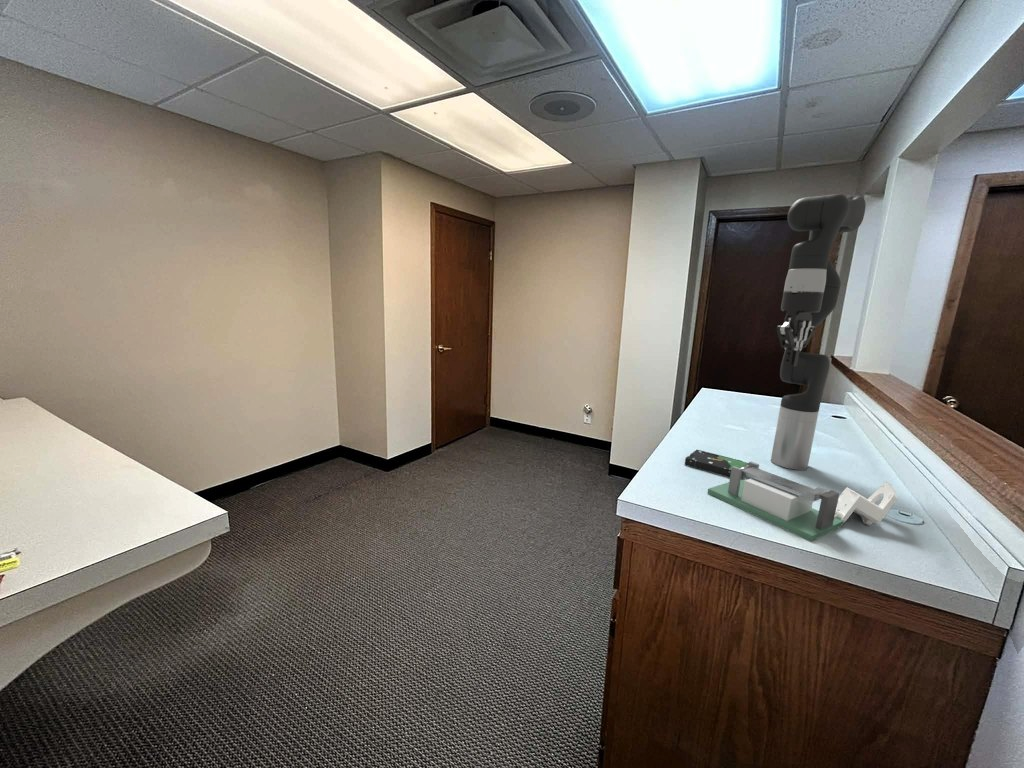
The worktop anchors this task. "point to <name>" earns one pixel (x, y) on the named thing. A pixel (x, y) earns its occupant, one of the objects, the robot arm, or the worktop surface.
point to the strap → (783, 483)
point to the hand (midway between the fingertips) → (790, 366)
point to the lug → (827, 509)
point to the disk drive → (713, 463)
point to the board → (792, 525)
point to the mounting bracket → (866, 504)
